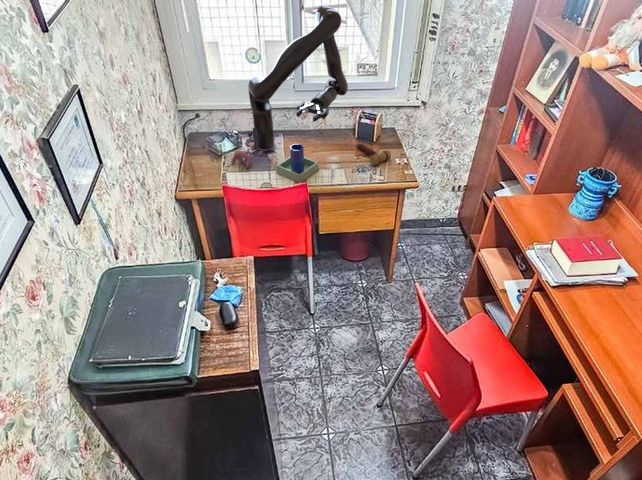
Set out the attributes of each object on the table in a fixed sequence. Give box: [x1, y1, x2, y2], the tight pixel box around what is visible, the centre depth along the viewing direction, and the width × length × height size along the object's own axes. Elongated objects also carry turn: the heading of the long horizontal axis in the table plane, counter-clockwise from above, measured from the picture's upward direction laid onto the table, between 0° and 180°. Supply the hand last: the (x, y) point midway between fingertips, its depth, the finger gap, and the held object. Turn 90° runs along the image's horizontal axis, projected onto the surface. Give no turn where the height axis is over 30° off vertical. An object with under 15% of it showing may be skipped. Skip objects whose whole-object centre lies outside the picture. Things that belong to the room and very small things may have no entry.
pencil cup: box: [289, 143, 305, 174], centre depth 217 cm, size 6×6×12 cm
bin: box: [275, 155, 319, 184], centre depth 220 cm, size 14×14×4 cm
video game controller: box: [231, 150, 254, 169], centre depth 223 cm, size 10×5×7 cm, turn 65°
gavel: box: [355, 143, 392, 166], centre depth 233 cm, size 21×5×10 cm
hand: (305, 117), depth 213 cm, fingers open, 8 cm apart
